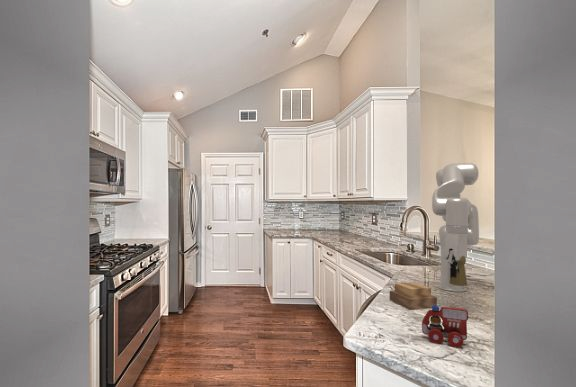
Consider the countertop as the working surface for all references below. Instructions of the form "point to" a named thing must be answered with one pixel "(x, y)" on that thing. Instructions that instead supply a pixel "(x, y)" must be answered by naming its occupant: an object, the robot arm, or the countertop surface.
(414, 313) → the countertop surface
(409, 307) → the stepped wooden base
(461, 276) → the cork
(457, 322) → the toy fire truck
